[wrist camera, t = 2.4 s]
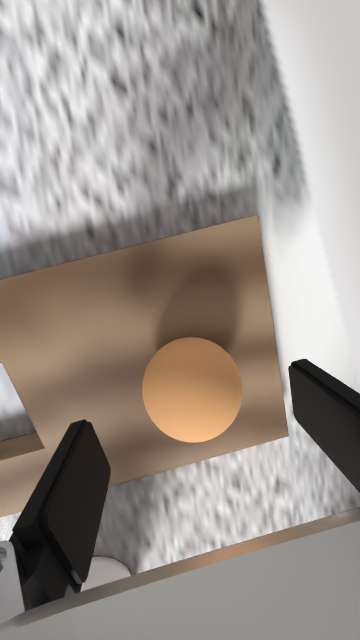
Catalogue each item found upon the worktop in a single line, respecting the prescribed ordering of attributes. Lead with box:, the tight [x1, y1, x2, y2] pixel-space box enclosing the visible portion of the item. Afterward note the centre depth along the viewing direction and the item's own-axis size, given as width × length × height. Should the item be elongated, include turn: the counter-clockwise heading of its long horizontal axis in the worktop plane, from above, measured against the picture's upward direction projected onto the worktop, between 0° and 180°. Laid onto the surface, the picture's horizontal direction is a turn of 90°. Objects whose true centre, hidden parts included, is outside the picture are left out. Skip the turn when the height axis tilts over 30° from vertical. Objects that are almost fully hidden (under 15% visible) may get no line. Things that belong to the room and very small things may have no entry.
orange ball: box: [142, 337, 243, 442], centre depth 13 cm, size 6×6×6 cm
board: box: [0, 215, 289, 517], centre depth 17 cm, size 18×30×2 cm, turn 104°
